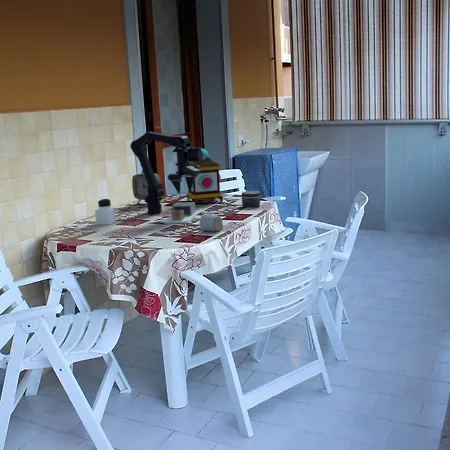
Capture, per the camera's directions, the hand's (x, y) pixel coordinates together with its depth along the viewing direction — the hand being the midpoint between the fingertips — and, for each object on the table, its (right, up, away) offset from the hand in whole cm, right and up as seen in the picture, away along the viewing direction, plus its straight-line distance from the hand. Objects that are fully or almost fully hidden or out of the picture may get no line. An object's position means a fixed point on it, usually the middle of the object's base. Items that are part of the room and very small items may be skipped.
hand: (184, 191), depth 307 cm
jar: (+35, -7, +17) cm, 39 cm away
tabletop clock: (-23, -5, +37) cm, 44 cm away
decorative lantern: (+9, -4, +38) cm, 39 cm away
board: (-1, -14, -7) cm, 15 cm away
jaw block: (-2, -14, -13) cm, 19 cm away
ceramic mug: (+15, -19, -35) cm, 43 cm away
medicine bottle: (-38, -16, -9) cm, 42 cm away
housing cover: (0, -11, -1) cm, 11 cm away
